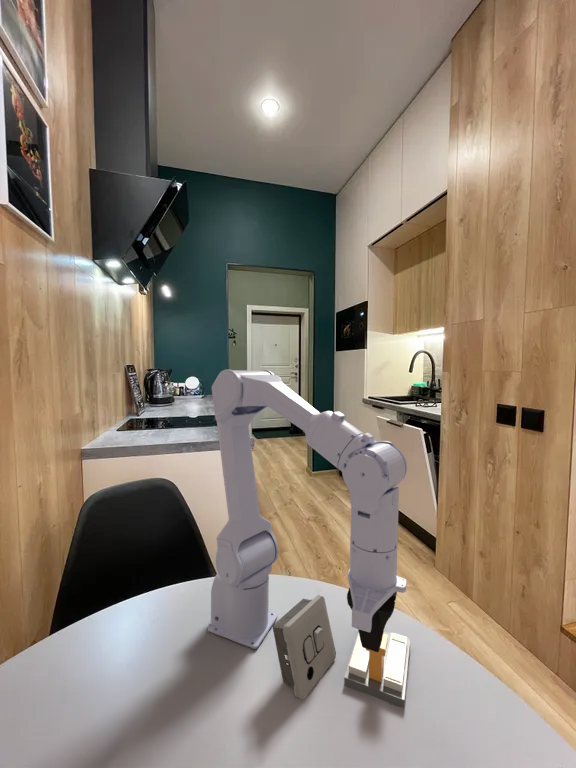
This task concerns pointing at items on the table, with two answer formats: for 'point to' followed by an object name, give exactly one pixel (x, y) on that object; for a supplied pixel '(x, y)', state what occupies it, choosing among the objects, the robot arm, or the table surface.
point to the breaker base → (393, 672)
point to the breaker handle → (377, 660)
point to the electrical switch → (304, 644)
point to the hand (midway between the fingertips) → (371, 645)
